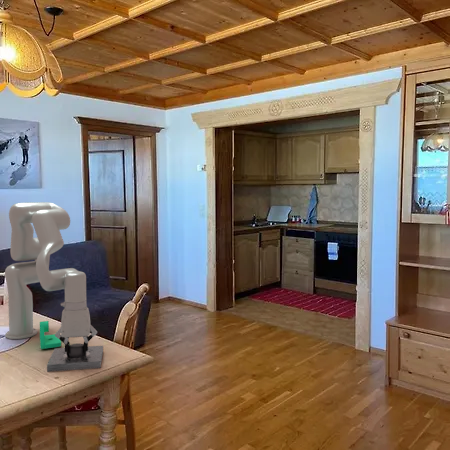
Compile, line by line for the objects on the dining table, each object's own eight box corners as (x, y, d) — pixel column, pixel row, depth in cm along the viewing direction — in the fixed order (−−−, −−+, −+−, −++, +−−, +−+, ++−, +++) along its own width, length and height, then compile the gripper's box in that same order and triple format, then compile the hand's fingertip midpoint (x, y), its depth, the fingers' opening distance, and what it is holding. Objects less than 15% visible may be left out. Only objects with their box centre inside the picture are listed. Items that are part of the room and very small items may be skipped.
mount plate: (54, 354, 170) (54, 348, 170) (103, 351, 174) (103, 345, 174) (47, 371, 155) (47, 364, 155) (100, 367, 159) (100, 361, 158)
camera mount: (61, 349, 177) (60, 323, 176) (40, 351, 174) (40, 326, 173) (59, 339, 188) (58, 315, 187) (39, 342, 185) (39, 317, 184)
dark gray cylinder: (70, 356, 167) (70, 343, 167) (85, 355, 168) (85, 343, 168) (68, 362, 162) (68, 349, 161) (83, 361, 163) (83, 348, 162)
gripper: (49, 309, 157) (50, 358, 159) (99, 306, 161) (99, 355, 162) (52, 303, 165) (53, 351, 166) (100, 301, 168) (101, 348, 170)
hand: (76, 352), depth 164 cm, fingers closed on dark gray cylinder, 5 cm apart
